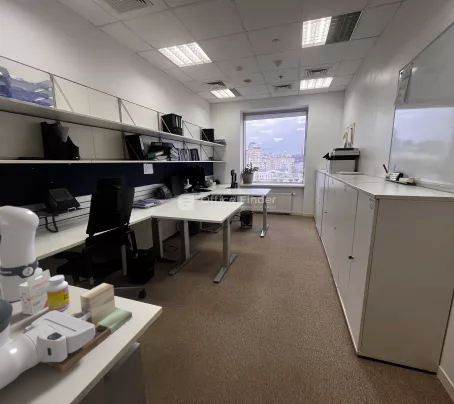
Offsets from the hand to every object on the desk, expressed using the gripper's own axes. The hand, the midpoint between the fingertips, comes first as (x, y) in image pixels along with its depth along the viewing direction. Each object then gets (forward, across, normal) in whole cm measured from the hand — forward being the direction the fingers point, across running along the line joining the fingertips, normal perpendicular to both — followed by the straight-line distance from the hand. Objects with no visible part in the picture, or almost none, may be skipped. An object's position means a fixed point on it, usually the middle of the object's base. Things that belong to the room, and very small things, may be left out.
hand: (88, 312), depth 73 cm
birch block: (+5, -1, -4) cm, 7 cm away
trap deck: (-1, -1, -6) cm, 7 cm away
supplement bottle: (+4, -23, -7) cm, 24 cm away
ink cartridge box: (+1, -31, -7) cm, 31 cm away
